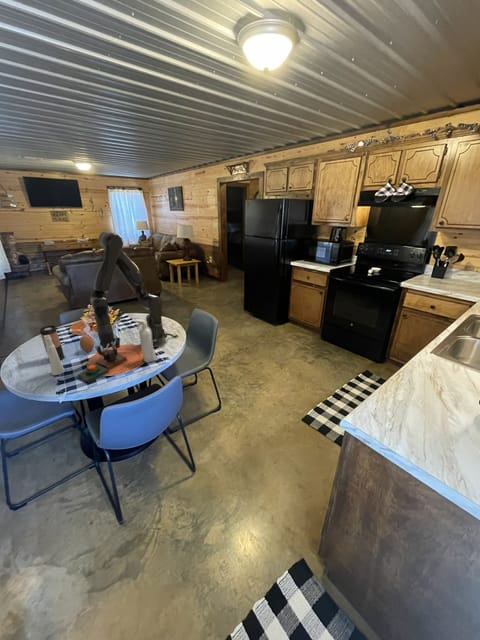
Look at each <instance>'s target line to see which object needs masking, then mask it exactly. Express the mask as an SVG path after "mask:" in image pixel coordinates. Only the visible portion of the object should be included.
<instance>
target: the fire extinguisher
mask: <svg viewBox="0 0 480 640" xmlns="http://www.w3.org/2000/svg"><path fill="white" fill-rule="evenodd" d="M134 323H136V324H137V326H136V329H137V331H138V335H139V339H140V340H139V341H140V346H141V353H142V359H143V362H145V363H150V362H151V363H152V362H153V361H155V362H156V361H158V360H159V358H158V356H157V355H156V353H155V349H154V347H153V342H152V331H151V328H149V327H148V326H147V322H146V319H139V318H137V319H134ZM148 328H149V329H148Z"/></svg>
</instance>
